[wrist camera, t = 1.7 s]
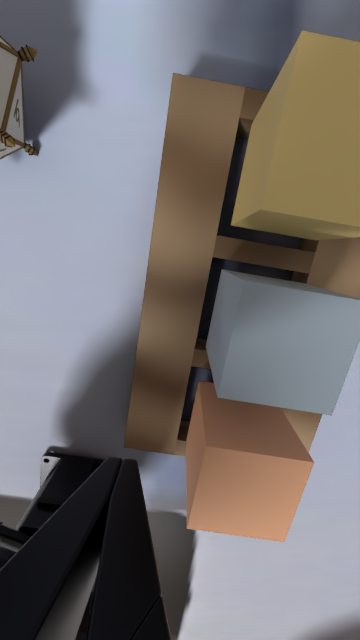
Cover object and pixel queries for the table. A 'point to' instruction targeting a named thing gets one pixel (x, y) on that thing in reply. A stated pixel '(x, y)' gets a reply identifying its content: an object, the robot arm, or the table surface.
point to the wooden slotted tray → (206, 259)
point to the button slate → (281, 342)
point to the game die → (13, 99)
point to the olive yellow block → (306, 146)
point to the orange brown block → (242, 467)
